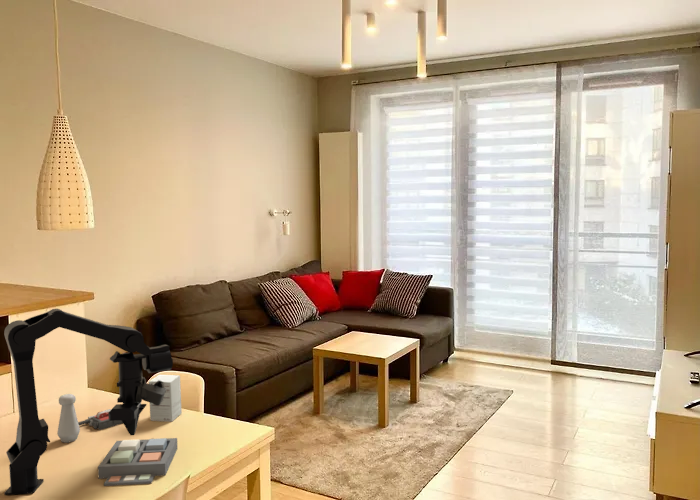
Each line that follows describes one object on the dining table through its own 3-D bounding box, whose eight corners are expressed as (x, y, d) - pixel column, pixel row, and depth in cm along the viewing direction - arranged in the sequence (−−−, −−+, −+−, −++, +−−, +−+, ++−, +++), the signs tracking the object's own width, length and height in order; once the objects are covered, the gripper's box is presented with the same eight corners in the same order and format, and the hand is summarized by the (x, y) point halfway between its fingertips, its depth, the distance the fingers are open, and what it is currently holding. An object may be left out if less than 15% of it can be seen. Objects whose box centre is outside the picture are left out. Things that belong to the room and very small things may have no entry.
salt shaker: (71, 444, 167) (69, 399, 166) (53, 443, 169) (50, 398, 167) (84, 436, 173) (82, 392, 172) (66, 435, 174) (64, 391, 173)
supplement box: (160, 412, 192) (159, 374, 191) (182, 413, 191) (181, 374, 190) (149, 421, 185) (147, 380, 184) (172, 422, 184) (170, 381, 183)
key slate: (163, 452, 157) (163, 444, 157) (146, 453, 157) (145, 445, 156) (166, 445, 161) (166, 438, 161) (150, 446, 161) (149, 438, 161)
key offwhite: (136, 453, 156) (135, 446, 156) (118, 454, 156) (118, 446, 156) (140, 446, 161) (139, 439, 161) (123, 447, 160) (122, 440, 160)
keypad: (162, 482, 144) (161, 470, 144) (93, 486, 143) (92, 474, 142) (177, 448, 164) (177, 438, 164) (117, 451, 163) (116, 440, 162)
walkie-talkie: (125, 413, 193) (61, 431, 178) (124, 400, 193) (61, 417, 178) (139, 419, 187) (74, 439, 172) (138, 406, 187) (74, 424, 172)
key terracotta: (157, 467, 150) (157, 459, 150) (139, 468, 150) (139, 460, 150) (161, 459, 155) (161, 452, 154) (143, 460, 154) (143, 453, 154)
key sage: (128, 465, 149) (128, 457, 149) (110, 466, 149) (110, 458, 149) (133, 457, 154) (133, 450, 154) (115, 458, 153) (115, 451, 153)
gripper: (153, 386, 147) (155, 448, 148) (170, 365, 165) (171, 420, 166) (106, 387, 146) (108, 449, 147) (129, 366, 164) (130, 422, 166)
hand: (132, 434), depth 157 cm, fingers closed
